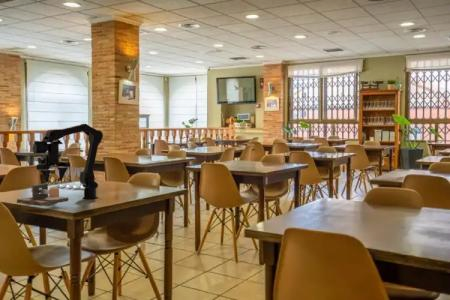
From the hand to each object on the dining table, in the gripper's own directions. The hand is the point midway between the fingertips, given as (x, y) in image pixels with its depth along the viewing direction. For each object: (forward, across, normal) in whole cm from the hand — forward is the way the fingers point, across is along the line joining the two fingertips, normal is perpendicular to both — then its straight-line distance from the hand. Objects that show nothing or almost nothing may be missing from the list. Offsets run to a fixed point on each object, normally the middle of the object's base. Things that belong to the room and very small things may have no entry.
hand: (54, 181), depth 261 cm
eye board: (+12, 0, -8) cm, 14 cm away
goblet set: (+12, -50, -38) cm, 64 cm away
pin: (+9, 0, -8) cm, 12 cm away
